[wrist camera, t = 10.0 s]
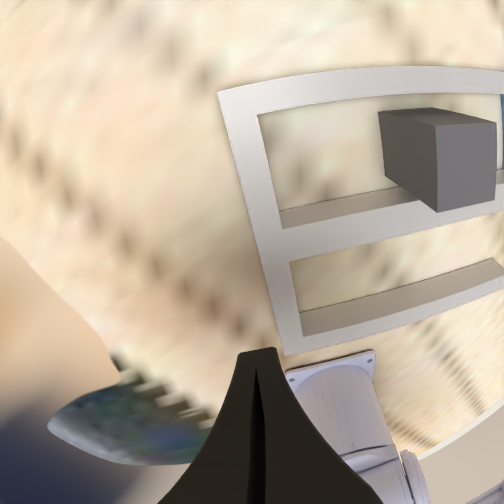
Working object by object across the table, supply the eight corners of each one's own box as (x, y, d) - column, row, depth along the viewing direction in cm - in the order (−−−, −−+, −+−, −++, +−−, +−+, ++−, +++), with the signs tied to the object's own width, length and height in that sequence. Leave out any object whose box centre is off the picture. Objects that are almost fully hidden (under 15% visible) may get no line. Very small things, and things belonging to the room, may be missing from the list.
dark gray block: (436, 167, 17) (494, 200, 12) (384, 175, 18) (437, 213, 12) (432, 107, 15) (496, 122, 10) (377, 111, 16) (435, 125, 10)
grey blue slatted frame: (500, 267, 21) (525, 292, 18) (280, 332, 23) (287, 372, 20) (509, 73, 13) (547, 79, 10) (219, 92, 15) (214, 91, 11)
